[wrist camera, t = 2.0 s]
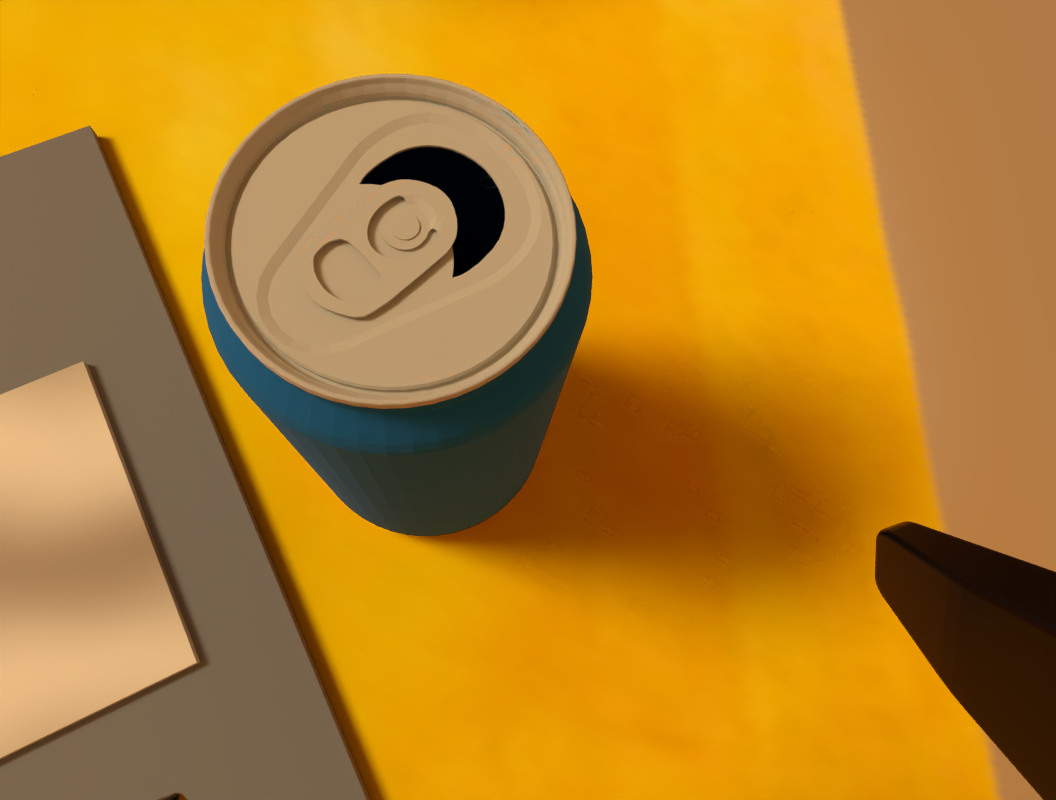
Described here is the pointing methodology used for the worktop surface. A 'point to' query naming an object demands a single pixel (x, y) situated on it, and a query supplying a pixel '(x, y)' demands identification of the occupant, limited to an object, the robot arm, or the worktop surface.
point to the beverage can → (400, 293)
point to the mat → (130, 533)
